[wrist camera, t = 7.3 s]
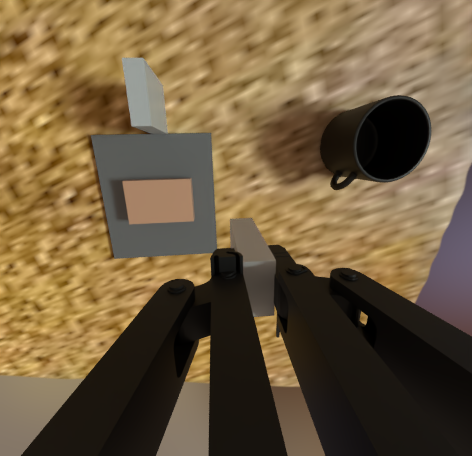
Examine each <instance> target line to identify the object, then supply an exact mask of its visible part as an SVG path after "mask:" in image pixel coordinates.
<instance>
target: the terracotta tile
mask: <svg viewBox="0 0 472 456" xmlns="http://www.w3.org/2000/svg"><path fill="white" fill-rule="evenodd" d="M122 182H123V189H124V195H125V201H126V207H127V213H128V219H129V224H148V223H169V222H190V221H194V219H195V213H194V201H193V188H192V178H169V179H138V180H125V181H122Z"/></svg>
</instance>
